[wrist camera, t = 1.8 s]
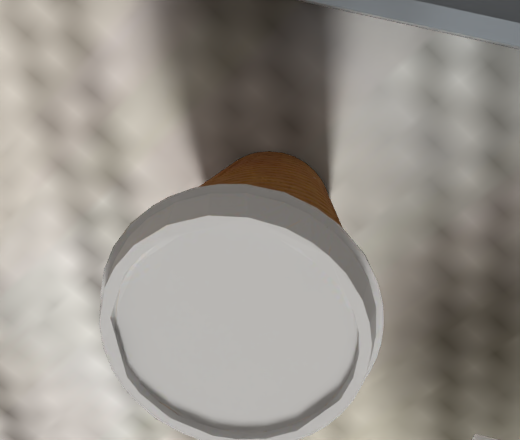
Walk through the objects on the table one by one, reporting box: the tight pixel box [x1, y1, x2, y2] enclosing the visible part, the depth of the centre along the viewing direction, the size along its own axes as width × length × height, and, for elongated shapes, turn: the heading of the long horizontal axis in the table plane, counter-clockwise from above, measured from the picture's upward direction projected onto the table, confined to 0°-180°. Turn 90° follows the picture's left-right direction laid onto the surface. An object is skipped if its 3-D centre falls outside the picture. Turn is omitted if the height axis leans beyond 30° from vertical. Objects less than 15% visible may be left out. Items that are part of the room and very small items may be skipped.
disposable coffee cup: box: [99, 151, 384, 440], centre depth 21 cm, size 10×10×12 cm
